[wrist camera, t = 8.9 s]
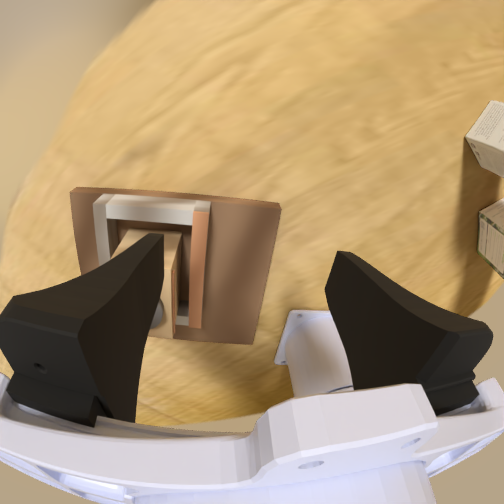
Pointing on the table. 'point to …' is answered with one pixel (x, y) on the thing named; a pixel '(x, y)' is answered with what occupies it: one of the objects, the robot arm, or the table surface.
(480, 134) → the skincare box
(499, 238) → the syrup box
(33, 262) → the table surface
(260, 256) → the board
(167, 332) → the knob block
